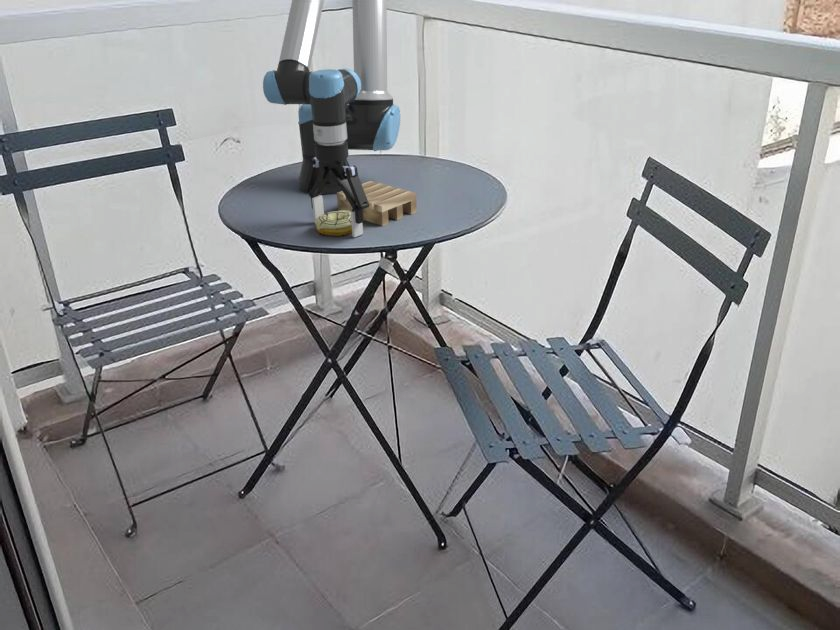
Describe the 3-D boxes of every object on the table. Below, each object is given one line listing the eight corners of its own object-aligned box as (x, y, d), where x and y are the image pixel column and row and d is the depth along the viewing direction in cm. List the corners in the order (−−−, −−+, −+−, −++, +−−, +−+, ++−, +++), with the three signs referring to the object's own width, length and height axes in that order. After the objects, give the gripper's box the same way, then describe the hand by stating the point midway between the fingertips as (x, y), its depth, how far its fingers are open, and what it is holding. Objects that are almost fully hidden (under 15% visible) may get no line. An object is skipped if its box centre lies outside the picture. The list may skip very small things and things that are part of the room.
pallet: (338, 211, 206) (336, 192, 203) (372, 199, 213) (371, 180, 211) (382, 226, 196) (381, 206, 194) (416, 212, 204) (416, 193, 201)
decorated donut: (318, 223, 200) (317, 208, 198) (362, 221, 200) (361, 207, 198) (313, 239, 191) (312, 223, 189) (359, 237, 190) (358, 222, 189)
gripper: (283, 136, 190) (292, 221, 200) (356, 154, 175) (362, 245, 185) (308, 129, 195) (316, 213, 205) (381, 146, 180) (386, 236, 190)
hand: (338, 229), depth 195 cm, fingers open, 13 cm apart
